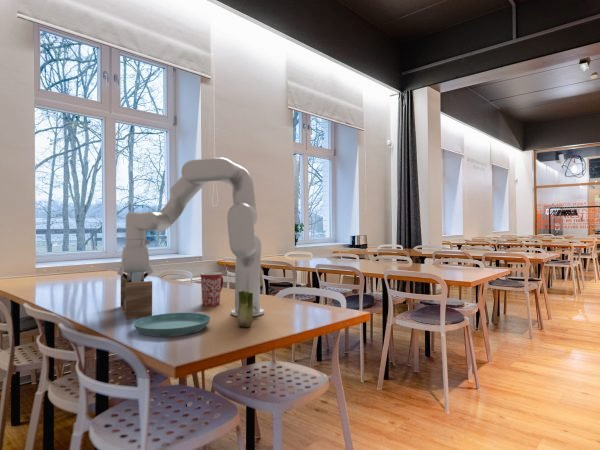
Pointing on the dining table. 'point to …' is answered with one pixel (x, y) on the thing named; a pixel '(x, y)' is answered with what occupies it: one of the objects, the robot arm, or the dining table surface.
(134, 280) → the door panel
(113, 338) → the dining table surface
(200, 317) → the teal plate
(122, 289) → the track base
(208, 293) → the mug
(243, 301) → the fennel bulb
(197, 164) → the robot arm
